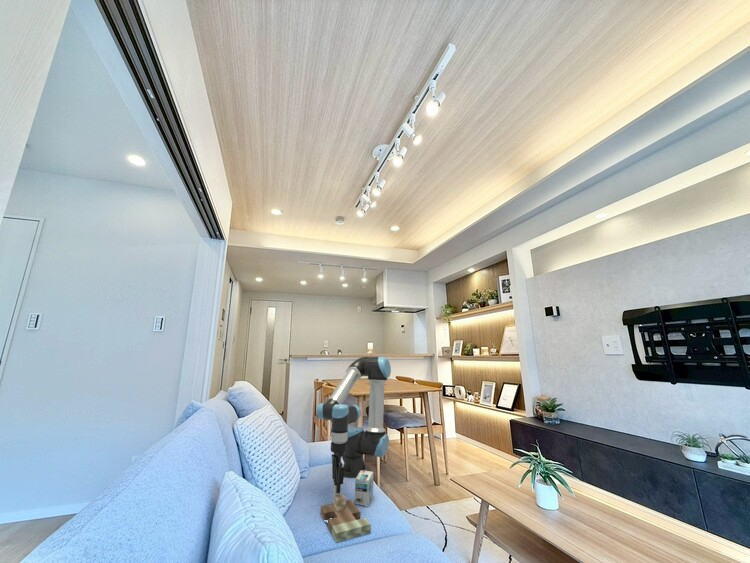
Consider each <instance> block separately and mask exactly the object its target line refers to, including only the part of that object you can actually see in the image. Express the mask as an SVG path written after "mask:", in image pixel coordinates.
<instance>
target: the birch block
mask: <svg viewBox="0 0 750 563" xmlns="http://www.w3.org/2000/svg"><path fill="white" fill-rule="evenodd" d="M333 497H334V500H333V503H334V508H335V509H336V511H339V510H343V509H346V500H347V499H346V496H345V495H344V494H342V493H341V495H336V496H334V495H333Z"/></svg>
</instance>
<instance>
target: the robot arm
mask: <svg viewBox="0 0 750 563" xmlns="http://www.w3.org/2000/svg"><path fill="white" fill-rule="evenodd" d="M345 371H346V373H345V375H344V376H343V378H342V379H341V380H340V381H339V383H338V384H337V386H336V388H335V389H334V390H333V392H332V393H331V394H330V396H329V398H328V399H327V401H326V402H321V403H319V404H318V405H317V406H316V407H317V408H316V409H315V412H316V417H317V418H318V419H320V420H323V421H331V434H330V435H329V437H330V441H331V442H330V452H331V453H333V454H331V464H332V465H331V470H332V480H333V497H332V498H333V501H334V496H336V495H341V494H342V491H341V489H342V485H344V478H356V477H357V476H358V474H359V473H360V471H361V470H363V471H367V468H366V467H367V466H366V463H365V459H364V455H365V456H370V457H375V458H383V457H384V456H385V455H386V454H387V451H388V448H389V445H390V444H389V443H390V437H389V436H390V435H388V434H387V433H386V429H385V428H384V411H385V410H384V409H385V383H386V382H388V379H389V378H390V376H391V374H392V373H391V372H392V369H391V363H390V360H389V359H388V358H387V357H386V356H385V357H384V356H362V357H359V358H357V359H355V360H354V361H353V362H352V363H351V364H349V366H348V367H347V369H346V370H345ZM362 377H367V381H368V382H369V402H368V404H369V405H368V423H367V424H368V426H367V427H366V428H365V429H364V427H360V426H356V427H351V428H349V424H352V423H355V422H357V421H358V420H359V419H360V417H361V414H362V413H361V412H362V411H361V408H360V407H359V405H357V404H350V405H347V404H343V403H344V402H345V400H346V398H347V397H348V395H350V394H349V393H350V392H351V390H352V389H353V387H354V386H355V385H356V383H357V381H359V380H360V379H361V378H362Z"/></svg>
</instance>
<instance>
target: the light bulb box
mask: <svg viewBox="0 0 750 563" xmlns="http://www.w3.org/2000/svg"><path fill="white" fill-rule="evenodd" d="M354 483H355V486H354V487H355V488H354V491H355V492H354V493H355V494H354V504H360V505H367V506H368V507H369V506H370V504H371V502H372V500H373V497H374V471H369V470H366V471H363V470H361V471H360V473H359V474H358V476H357V477H355V482H354ZM360 505H359V506H360ZM367 506H366V507H367Z"/></svg>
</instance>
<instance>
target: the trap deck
mask: <svg viewBox="0 0 750 563" xmlns="http://www.w3.org/2000/svg"><path fill="white" fill-rule="evenodd" d="M357 506H358V505H355V502H354V501H353V500H352V499H348V500H347V499H346V509H343V510H339V511H336V509H335V508H334V502H333V503H329V504H325V505H321V506H320V512H319V513H321V514H320V516H321V515H322V516H321V518H322V517H323V518H322V519H324V520H328V523H327V522H326V523H325V525H326V524H327V525H326V527H327V529H328V531H329V532H330V535H331V536H332V538H333V540H334V541H335V543H336V544H337V543H341V542H344V541H347V540H351V539H355V538H358V537H361V536H365V535H369V534H371V533H372V532H371V530H372V528H371V527H372V526H371V525H372V524H371V523H370V521H369V520H368V519H367V518H366V517H362V518H361V516H362V515H361V510H360V508H358V507H357ZM330 518H332V519H330ZM324 520H323V521H324Z"/></svg>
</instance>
